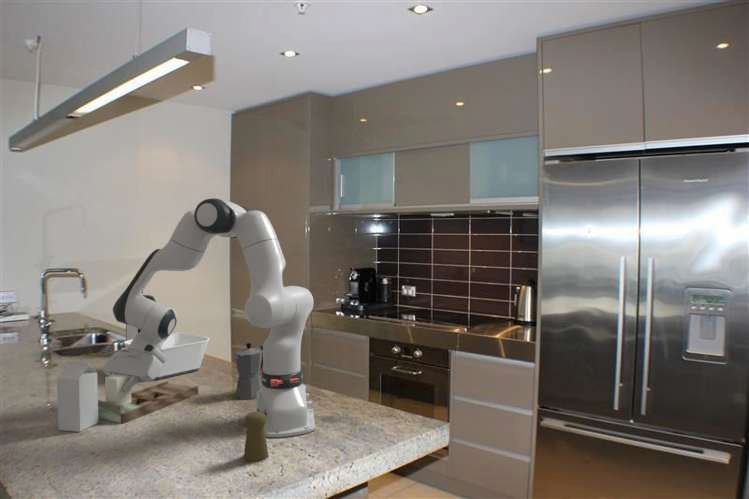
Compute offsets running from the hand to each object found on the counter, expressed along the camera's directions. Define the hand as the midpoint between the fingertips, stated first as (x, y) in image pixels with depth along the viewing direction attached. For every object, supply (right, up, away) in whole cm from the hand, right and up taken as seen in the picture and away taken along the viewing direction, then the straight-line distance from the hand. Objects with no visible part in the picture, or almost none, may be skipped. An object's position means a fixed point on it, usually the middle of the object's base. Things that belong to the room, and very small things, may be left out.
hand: (116, 389), depth 155 cm
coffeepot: (+36, -7, +20) cm, 42 cm away
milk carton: (-6, -8, -9) cm, 14 cm away
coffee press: (-28, -6, +79) cm, 84 cm away
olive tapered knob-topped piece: (+49, -9, -30) cm, 58 cm away
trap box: (+5, -8, +10) cm, 14 cm away
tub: (-5, -7, +50) cm, 51 cm away
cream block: (0, -5, +1) cm, 5 cm away
